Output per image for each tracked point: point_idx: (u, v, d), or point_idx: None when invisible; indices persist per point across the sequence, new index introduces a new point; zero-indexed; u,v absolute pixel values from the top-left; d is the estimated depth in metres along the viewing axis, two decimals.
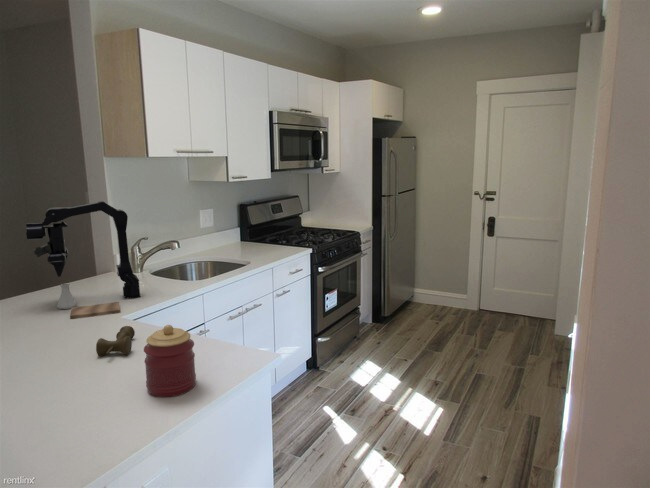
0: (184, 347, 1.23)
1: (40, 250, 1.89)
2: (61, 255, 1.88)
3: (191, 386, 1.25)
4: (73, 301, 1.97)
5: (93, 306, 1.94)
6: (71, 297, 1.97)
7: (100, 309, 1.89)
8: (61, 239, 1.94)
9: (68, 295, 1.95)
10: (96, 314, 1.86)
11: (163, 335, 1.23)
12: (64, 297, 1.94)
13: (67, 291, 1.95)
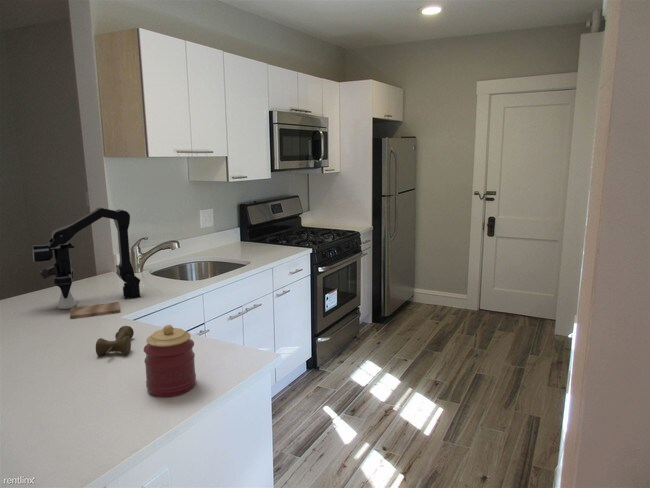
0: (184, 347, 1.23)
1: (46, 272, 1.88)
2: (68, 277, 1.87)
3: (191, 386, 1.25)
4: (73, 301, 1.97)
5: (93, 306, 1.94)
6: (71, 297, 1.97)
7: (100, 309, 1.89)
8: (67, 261, 1.93)
9: (68, 295, 1.95)
10: (96, 314, 1.86)
11: (163, 335, 1.23)
12: None
13: None
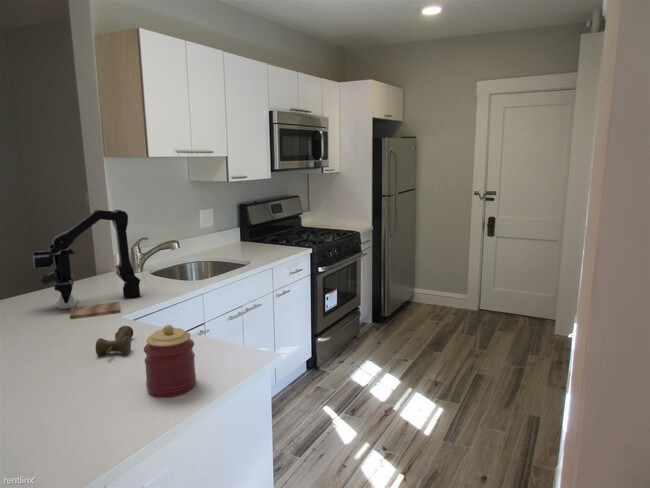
0: (184, 347, 1.23)
1: (47, 278, 1.89)
2: (68, 283, 1.88)
3: (191, 386, 1.25)
4: (73, 301, 1.97)
5: (93, 306, 1.94)
6: (71, 297, 1.97)
7: (100, 309, 1.89)
8: (68, 266, 1.93)
9: None
10: (96, 314, 1.86)
11: (163, 335, 1.23)
12: None
13: None
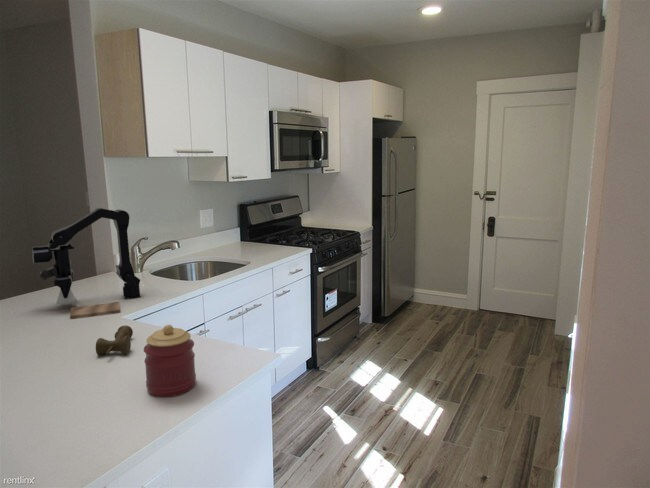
0: (184, 347, 1.23)
1: (46, 273, 1.88)
2: (67, 278, 1.87)
3: (191, 386, 1.25)
4: (73, 296, 1.97)
5: (93, 306, 1.94)
6: (71, 292, 1.96)
7: (100, 309, 1.89)
8: (67, 262, 1.93)
9: None
10: (96, 314, 1.86)
11: (163, 335, 1.23)
12: None
13: None
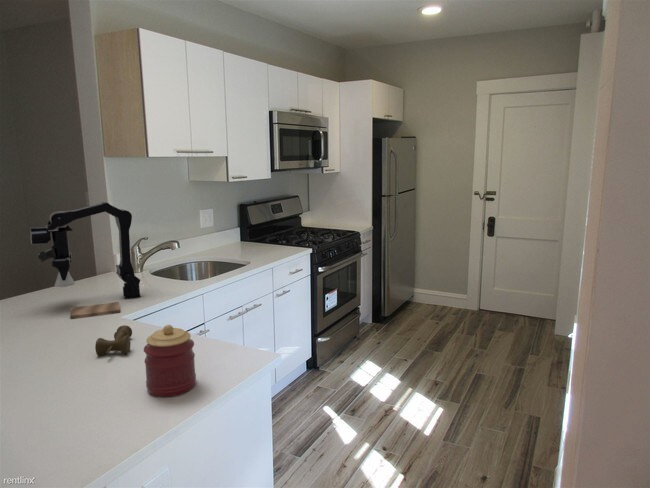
0: (184, 347, 1.23)
1: (44, 255, 1.87)
2: (66, 260, 1.86)
3: (191, 386, 1.25)
4: (71, 279, 1.95)
5: (93, 306, 1.94)
6: (69, 275, 1.95)
7: (100, 309, 1.89)
8: (65, 243, 1.91)
9: None
10: (96, 314, 1.86)
11: (162, 335, 1.23)
12: None
13: None
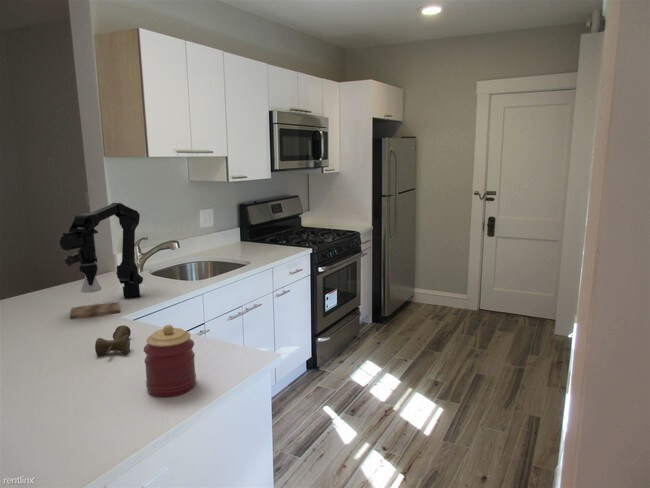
0: (184, 347, 1.23)
1: (71, 259, 1.81)
2: (93, 264, 1.80)
3: (191, 386, 1.25)
4: (97, 285, 1.89)
5: (93, 306, 1.94)
6: (95, 280, 1.89)
7: (100, 309, 1.89)
8: (92, 247, 1.85)
9: None
10: (96, 314, 1.86)
11: (163, 335, 1.23)
12: None
13: None
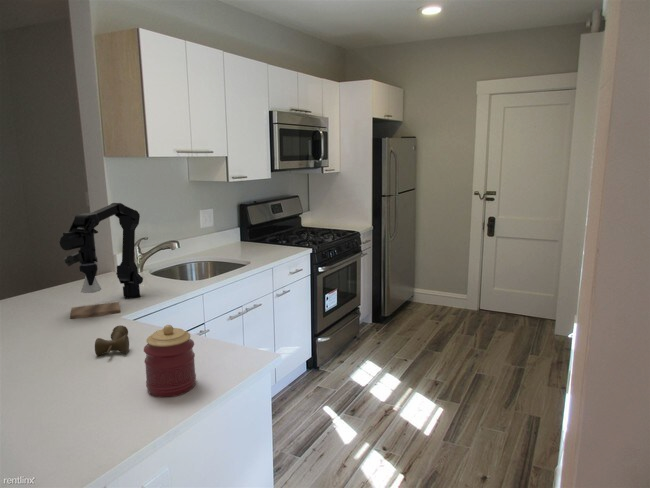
0: (184, 347, 1.23)
1: (71, 259, 1.81)
2: (93, 264, 1.80)
3: (191, 386, 1.25)
4: (97, 285, 1.89)
5: (93, 306, 1.94)
6: (95, 281, 1.89)
7: (100, 309, 1.89)
8: (92, 247, 1.85)
9: None
10: (96, 314, 1.86)
11: (163, 335, 1.23)
12: None
13: None
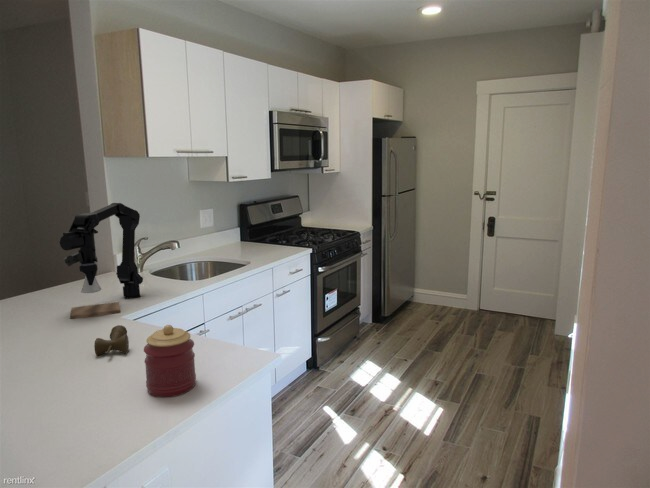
0: (184, 347, 1.23)
1: (71, 259, 1.81)
2: (93, 264, 1.80)
3: (191, 386, 1.25)
4: (97, 285, 1.89)
5: (93, 306, 1.94)
6: (95, 281, 1.89)
7: (100, 309, 1.89)
8: (92, 247, 1.85)
9: None
10: (96, 314, 1.86)
11: (163, 335, 1.23)
12: None
13: None
